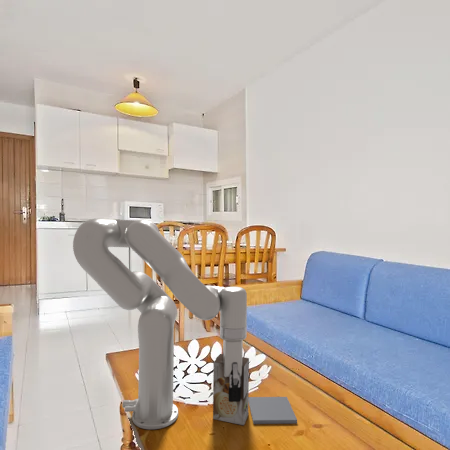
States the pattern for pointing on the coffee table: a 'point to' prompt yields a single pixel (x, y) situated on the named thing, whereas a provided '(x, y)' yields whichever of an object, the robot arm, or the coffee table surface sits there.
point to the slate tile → (271, 410)
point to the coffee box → (221, 404)
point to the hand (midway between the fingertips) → (233, 391)
